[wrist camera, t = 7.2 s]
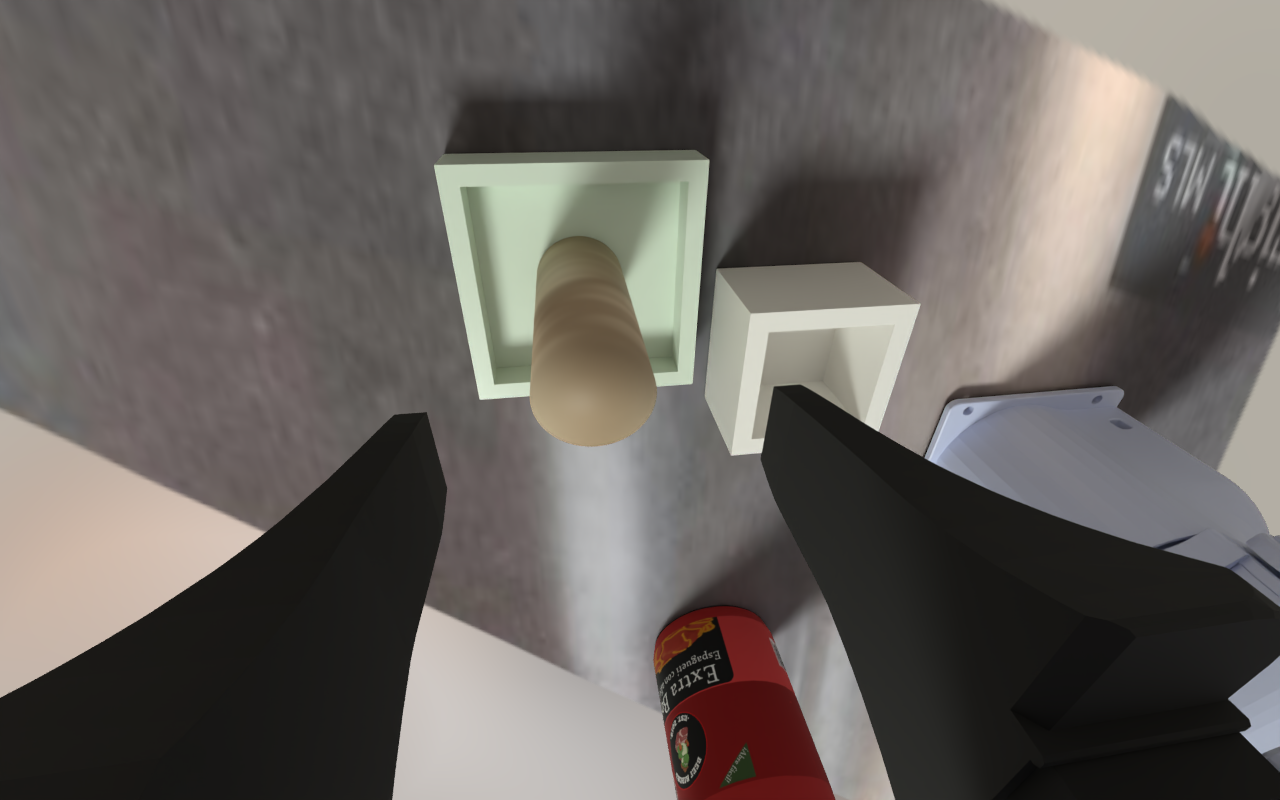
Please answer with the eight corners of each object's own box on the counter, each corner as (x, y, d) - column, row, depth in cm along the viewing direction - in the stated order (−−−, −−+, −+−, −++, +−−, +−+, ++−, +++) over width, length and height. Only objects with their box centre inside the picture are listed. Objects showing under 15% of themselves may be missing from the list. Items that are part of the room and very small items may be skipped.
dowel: (621, 234, 18) (657, 336, 12) (623, 314, 20) (656, 441, 13) (531, 237, 18) (521, 345, 11) (541, 319, 19) (537, 451, 13)
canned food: (693, 590, 31) (755, 816, 22) (792, 617, 34) (882, 823, 25) (627, 661, 34) (657, 883, 25) (723, 679, 37) (780, 882, 28)
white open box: (860, 261, 21) (920, 303, 17) (829, 386, 24) (874, 442, 21) (716, 268, 20) (750, 313, 17) (704, 396, 23) (731, 455, 20)
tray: (695, 149, 17) (709, 159, 16) (682, 360, 22) (692, 383, 20) (443, 153, 16) (433, 164, 15) (484, 374, 21) (479, 399, 19)
